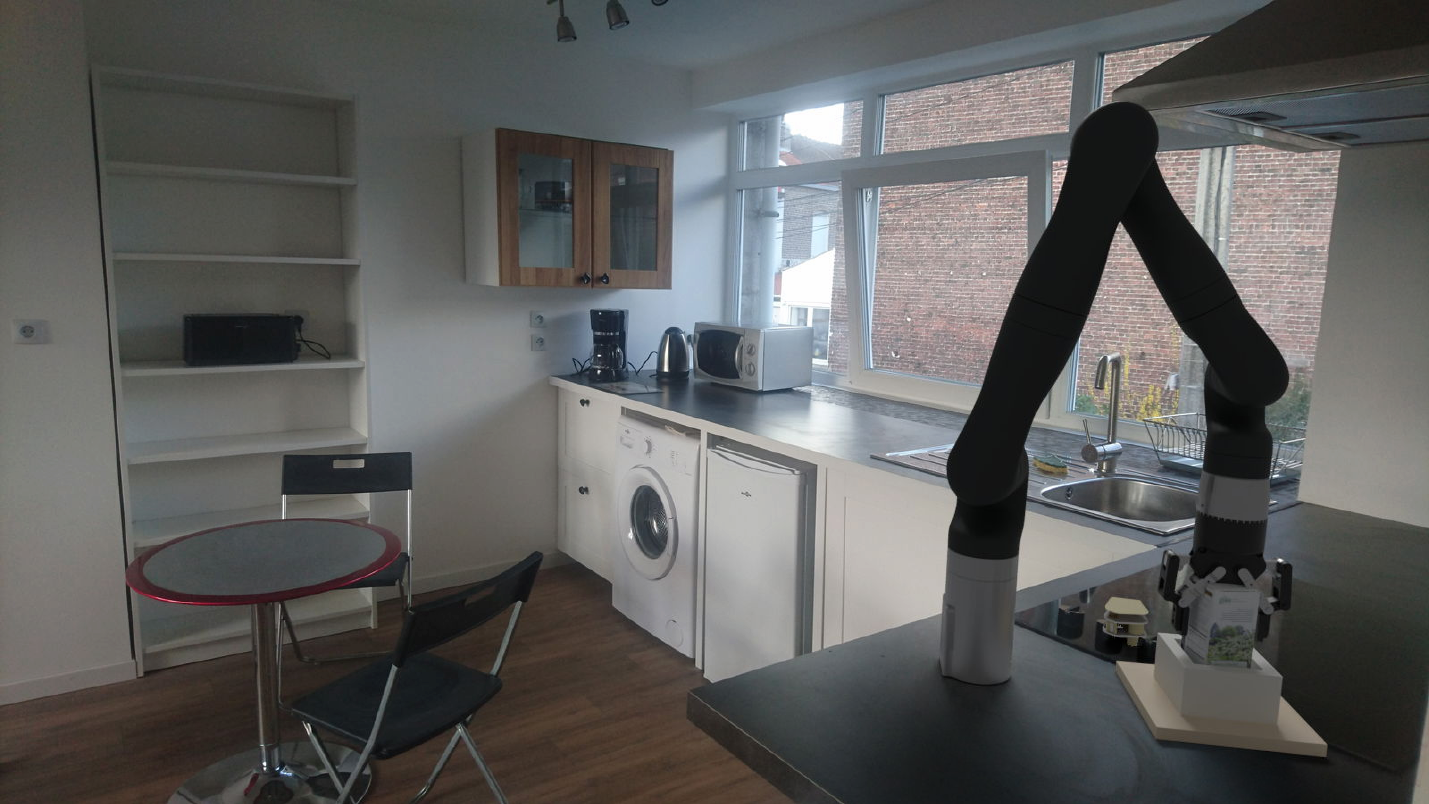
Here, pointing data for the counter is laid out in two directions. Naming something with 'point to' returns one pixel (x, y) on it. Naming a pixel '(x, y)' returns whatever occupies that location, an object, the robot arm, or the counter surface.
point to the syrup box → (1222, 626)
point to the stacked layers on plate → (1125, 619)
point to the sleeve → (1216, 702)
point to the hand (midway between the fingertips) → (1218, 636)
